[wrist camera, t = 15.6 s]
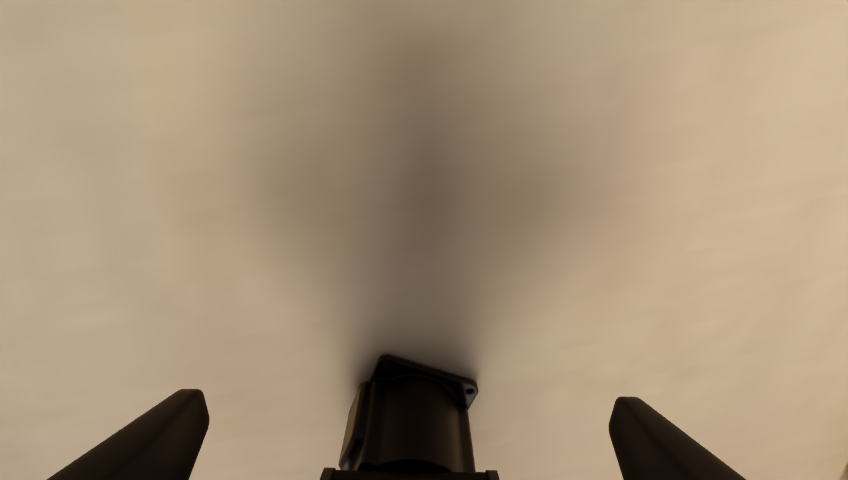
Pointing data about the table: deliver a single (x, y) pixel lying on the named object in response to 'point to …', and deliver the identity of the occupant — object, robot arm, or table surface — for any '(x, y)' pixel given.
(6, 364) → the table surface
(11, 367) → the table surface
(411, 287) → the table surface
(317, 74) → the table surface
